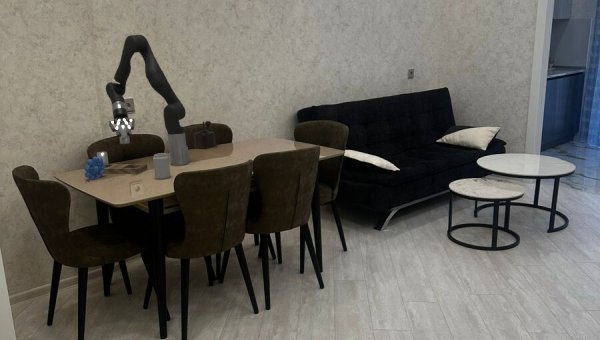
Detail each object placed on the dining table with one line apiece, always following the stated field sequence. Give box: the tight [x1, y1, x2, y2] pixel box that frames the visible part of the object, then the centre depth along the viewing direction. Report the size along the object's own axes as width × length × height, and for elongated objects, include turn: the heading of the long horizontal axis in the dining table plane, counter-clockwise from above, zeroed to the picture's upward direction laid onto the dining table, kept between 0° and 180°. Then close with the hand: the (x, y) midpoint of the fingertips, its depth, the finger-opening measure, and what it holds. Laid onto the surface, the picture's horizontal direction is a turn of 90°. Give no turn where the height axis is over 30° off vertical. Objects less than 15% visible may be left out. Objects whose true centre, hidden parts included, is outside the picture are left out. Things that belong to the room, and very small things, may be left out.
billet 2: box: [118, 123, 131, 145], centre depth 277 cm, size 5×5×10 cm
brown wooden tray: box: [102, 163, 149, 176], centre depth 269 cm, size 28×11×4 cm, turn 78°
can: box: [152, 152, 171, 180], centre depth 254 cm, size 8×8×12 cm
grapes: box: [84, 155, 105, 181], centre depth 255 cm, size 12×7×12 cm, turn 146°
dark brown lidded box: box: [192, 120, 217, 150], centre depth 327 cm, size 16×11×18 cm
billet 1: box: [96, 151, 110, 168], centre depth 270 cm, size 5×5×10 cm
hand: (124, 135), depth 276 cm, fingers closed on billet 2, 5 cm apart
